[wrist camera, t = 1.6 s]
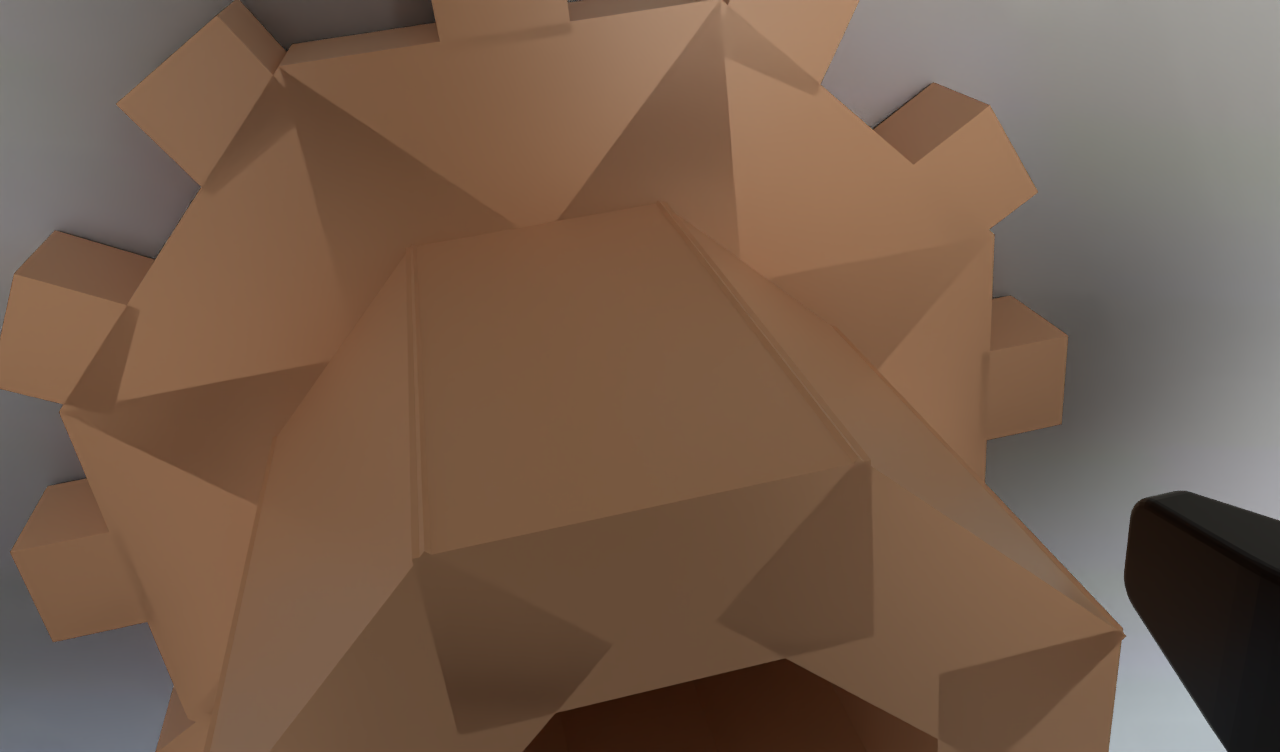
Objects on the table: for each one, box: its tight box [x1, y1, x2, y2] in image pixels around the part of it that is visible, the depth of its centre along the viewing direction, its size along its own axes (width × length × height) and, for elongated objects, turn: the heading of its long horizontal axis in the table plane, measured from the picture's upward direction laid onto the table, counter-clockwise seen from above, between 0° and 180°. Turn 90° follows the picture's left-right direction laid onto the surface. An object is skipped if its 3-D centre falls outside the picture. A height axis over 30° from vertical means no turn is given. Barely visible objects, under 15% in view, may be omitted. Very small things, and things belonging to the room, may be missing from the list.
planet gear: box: [0, 0, 1126, 752], centre depth 9 cm, size 11×11×6 cm
